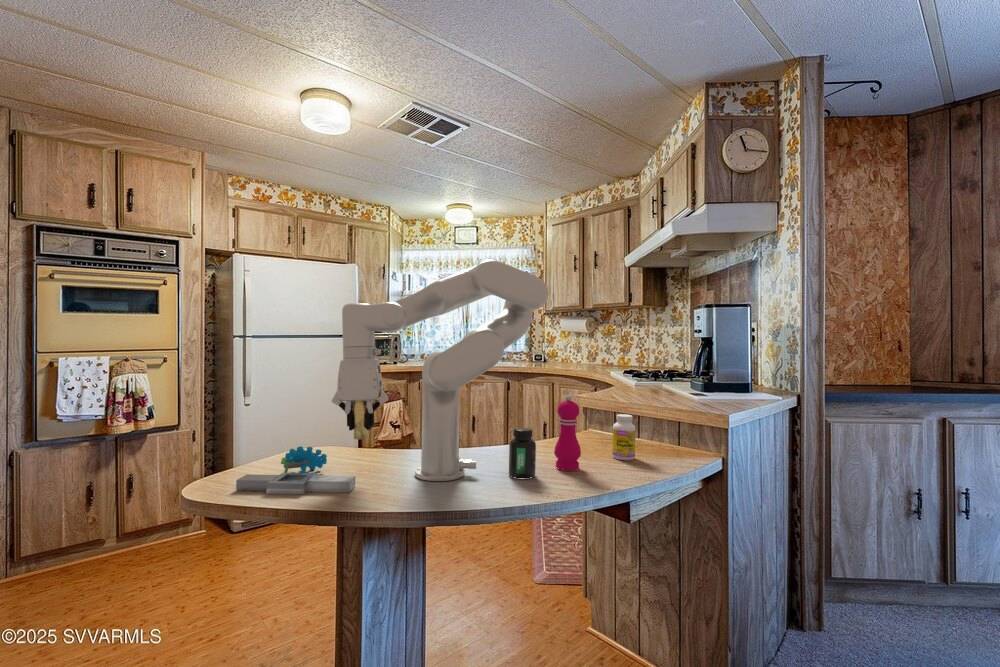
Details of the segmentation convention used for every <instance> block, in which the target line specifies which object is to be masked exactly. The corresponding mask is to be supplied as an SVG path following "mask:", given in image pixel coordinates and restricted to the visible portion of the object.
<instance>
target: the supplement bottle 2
mask: <svg viewBox="0 0 1000 667" xmlns="http://www.w3.org/2000/svg"><path fill="white" fill-rule="evenodd" d="M632 421H633V415H631V414H625V413H624V414H623V413H622V414H621V413H619V414H618V413H617V414H616V422H614V424H613V425H612V442H611V443H612V449H611V450H612V451H611V452H612V453H611V455H612V456H611V457H612V458H614V459H616V460H618V461H619V460H620V461H634V459H635V457H636V434H637V433H636V431H637V430H636V425H635V424H633V422H632Z"/></svg>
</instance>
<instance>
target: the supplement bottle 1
mask: <svg viewBox="0 0 1000 667" xmlns="http://www.w3.org/2000/svg"><path fill="white" fill-rule="evenodd" d="M512 436H513V438H511V440H509V445H508V475H510V476H512V477H516V478H530V477H534V478H535V476H536V467H537V466H536V465H537V463H536V462H537V461H536V460H537V444H536V441H535V440H534V439H533V438H532V437H533V429H532V428H530V427H514V428H513V433H512ZM510 476H509V477H510ZM512 477H511V478H512Z"/></svg>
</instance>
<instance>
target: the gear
mask: <svg viewBox="0 0 1000 667" xmlns="http://www.w3.org/2000/svg"><path fill="white" fill-rule="evenodd" d="M313 449H314V447H312V446H307V447H306V449H304V447H303V446H301V445H300V446H297V448H296V449H295V448H290V449H289V452H286V453H285V456H284V457H281V461H280V464H281V465H283V468H284V471H283V473H289V472H288V471H289V469H297V468H298V469H299V468H300V470H301V471H300V473H307V472H306V470H307V467H308V468H309V470H310V471H314V470H315V471H316V468H317V469H322V468H323V466H324V465H326V464H327V463H328V462H327V461H328V460H327V457H328V455H327V454H326V453H322V450H320V449H316V450H315V452H313Z"/></svg>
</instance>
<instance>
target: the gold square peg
mask: <svg viewBox="0 0 1000 667" xmlns="http://www.w3.org/2000/svg"><path fill="white" fill-rule="evenodd" d="M367 411H368V408H367V402H366V401H360V400H357V401H353V430H352V432H353V439H354V440H367V439H369V430H366V414H367Z"/></svg>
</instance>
